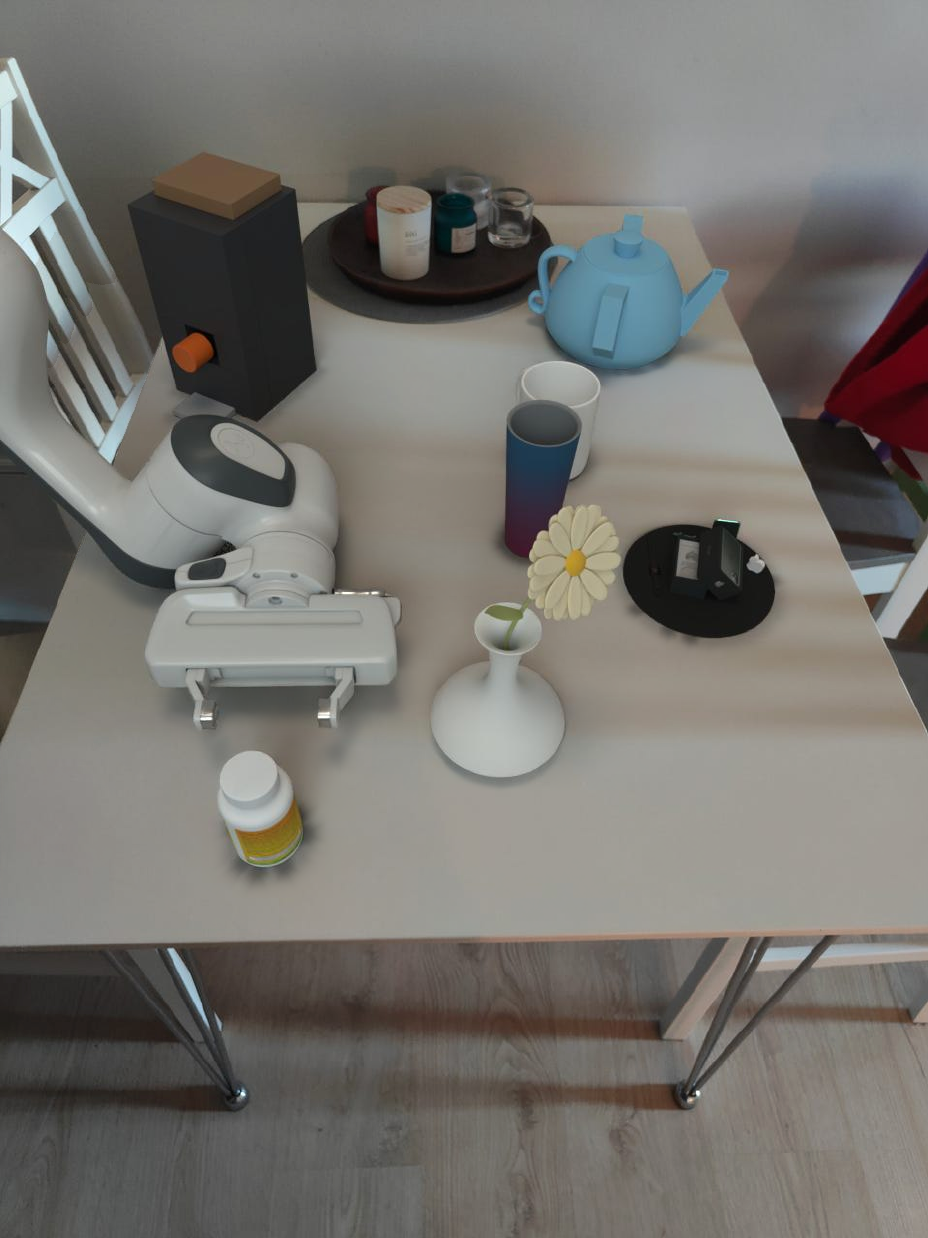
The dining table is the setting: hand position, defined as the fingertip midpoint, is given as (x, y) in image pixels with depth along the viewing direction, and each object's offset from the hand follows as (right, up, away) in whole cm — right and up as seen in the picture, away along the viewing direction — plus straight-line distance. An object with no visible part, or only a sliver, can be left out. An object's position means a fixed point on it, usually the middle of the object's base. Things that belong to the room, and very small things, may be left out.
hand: (266, 724), depth 66 cm
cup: (+22, +16, +22) cm, 35 cm away
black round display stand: (+39, +12, +20) cm, 45 cm away
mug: (+24, +27, +32) cm, 48 cm away
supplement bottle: (0, -9, +1) cm, 9 cm away
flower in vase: (+19, -1, +8) cm, 21 cm away
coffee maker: (-12, +36, +37) cm, 53 cm away
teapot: (+35, +45, +47) cm, 74 cm away
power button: (-15, +36, +29) cm, 49 cm away
